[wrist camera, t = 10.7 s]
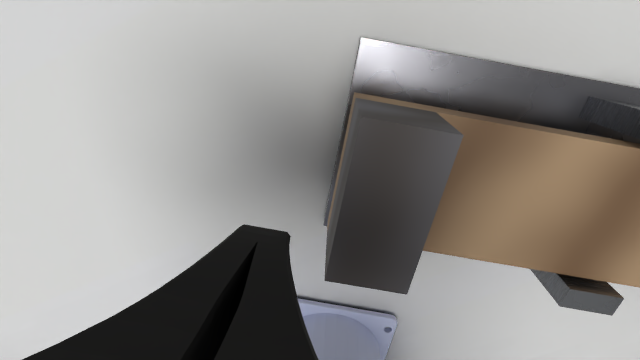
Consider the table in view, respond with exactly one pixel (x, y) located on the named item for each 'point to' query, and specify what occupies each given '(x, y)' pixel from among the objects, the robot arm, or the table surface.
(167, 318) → the robot arm
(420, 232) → the beam
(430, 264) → the table surface
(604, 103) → the stand
